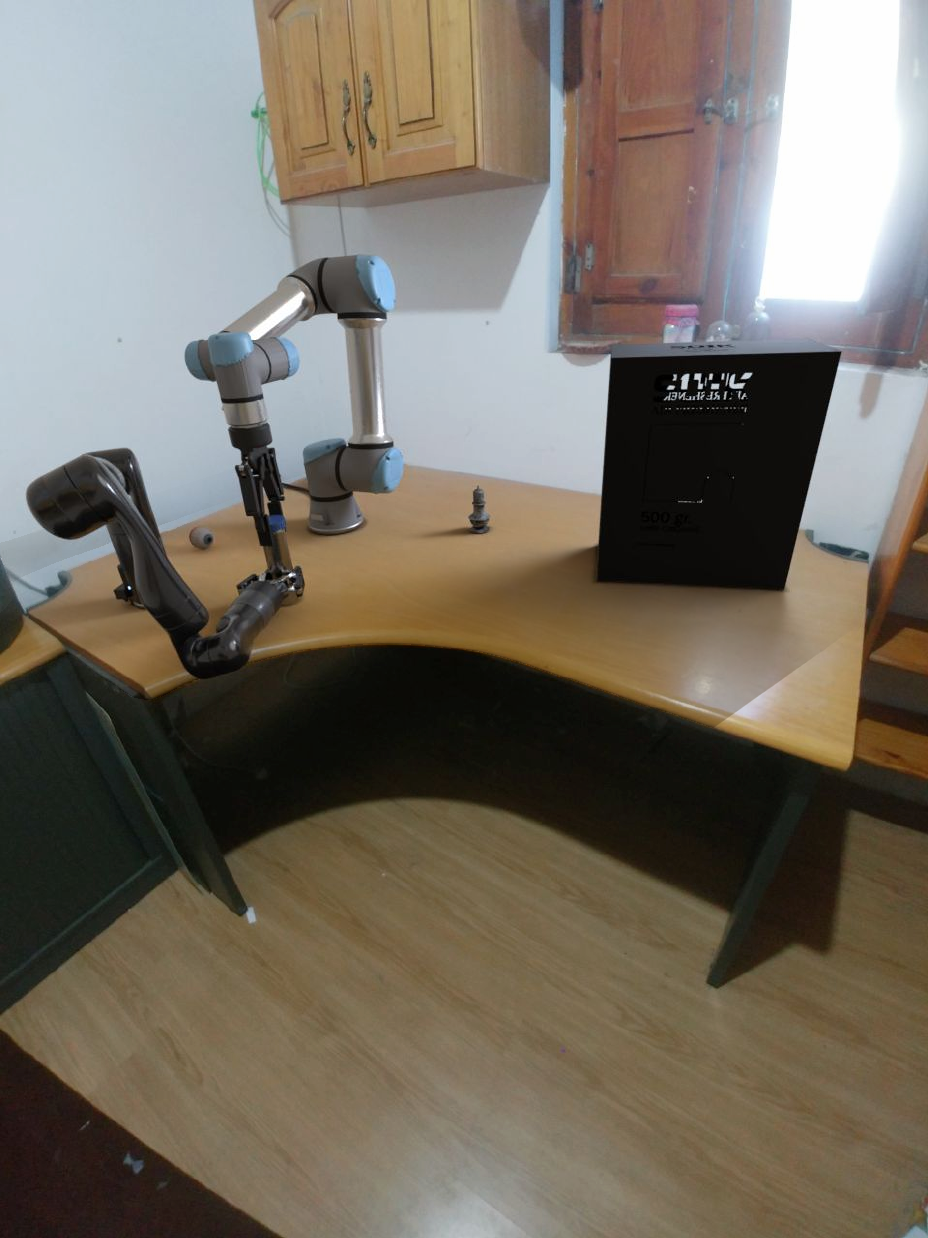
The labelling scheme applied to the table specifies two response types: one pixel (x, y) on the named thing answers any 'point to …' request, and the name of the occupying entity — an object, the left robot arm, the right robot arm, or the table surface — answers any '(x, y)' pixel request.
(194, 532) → the eyeball
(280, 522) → the lid
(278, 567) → the bottle
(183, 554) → the table surface
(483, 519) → the grey tall turned piece
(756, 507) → the cardboard box
